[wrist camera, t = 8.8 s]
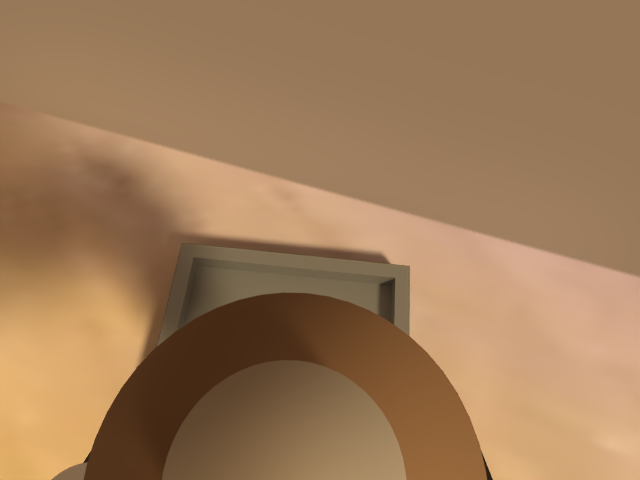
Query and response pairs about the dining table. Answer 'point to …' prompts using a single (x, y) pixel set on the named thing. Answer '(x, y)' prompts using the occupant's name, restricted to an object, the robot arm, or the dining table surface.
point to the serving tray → (280, 282)
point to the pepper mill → (287, 401)
